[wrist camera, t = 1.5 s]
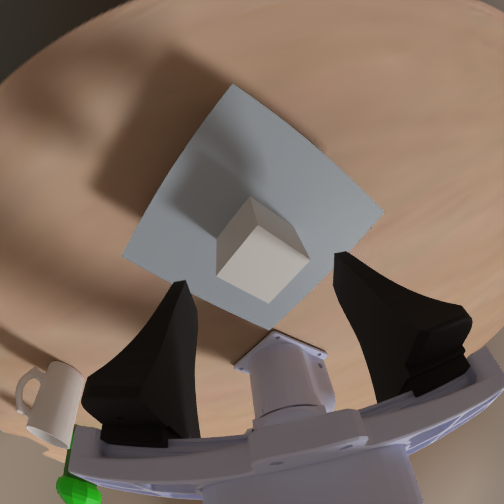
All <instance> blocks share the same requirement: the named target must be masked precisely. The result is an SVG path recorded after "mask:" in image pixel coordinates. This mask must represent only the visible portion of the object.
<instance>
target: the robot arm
mask: <svg viewBox="0 0 504 504" xmlns="http://www.w3.org/2000/svg"><path fill="white" fill-rule="evenodd" d="M333 287H334V290H335V293H336V295H337V298H338V301H339V303H340V305H341V307H342V309H343V311H344V313H345V315H346V317H347V319H348V321H349V322H350V324H351V326H352V328H353V330H354V332H355V334H356V336H357V338H358V341H359V343H360V346H361V348H362V351H363V354H364V357H365V360H366V363H367V366H368V369H369V373H370V376H371V380H372V383H373V387H374V391H375V396H376V400H377V404H375V405H372V406H369V407H366V408H363V409H359V410H354V409H344V410H339V411H334V412H333V410H334V407H335V393H334V390H333V387H332V384H331V381H330V378H329V375H328V372H327V369H326V366H325V363H324V359H325V358H327V356H328V354H327V352H324V351H322V350H319V349H317V348H314V347H312V346H310V345H307V344H305V343H303V342H300V341H298V340H295V339H293V338H291V337H288V336H286V335H284V334H282V333H279V332H277V331H273V332H271V333H270V334H269V335H268V336H266V337H265V338H264V339H263V340H262V341H261V342H260V343H259V344H258V345H256V346H255V347H254V348H253V349H252V350H251V351H250V352H249V353H247V354H246V355H245V356H244V357H243V358H242V359H240V360H239V361H238V362H237V363H236V364H235V365H234V369H235V370H238V371H241V372H244V373H247V374H250V381H251V389H252V397H253V405H254V413H255V419H254V420H252V421H253V428H251V429H247V431H246V433H245V434H244V435H235V436H225V437H212V438H201V436H200V430H199V423H198V414H197V405H196V392H195V357H196V345H197V333H198V319H197V309H196V306H195V304H194V301H193V298H192V295H191V293H190V290H189V287H188V284H187V282H186V280H182V281H176V282H174V283H173V284H172V286H171V287H170V289H169V290H168V292H167V294H166V295H165V297H164V298H163V300H162V302H161V303H160V305H159V306H158V308H157V309H156V311H155V312H154V314H153V315H152V317H151V318H150V319H149V321H148V322H147V324H146V325H145V326H144V327H143V329H142V330H141V331H140V332H139V334H138V335H137V336H136V337H135V338H134V339H133V340H132V341H131V342H130V343H129V344H128V345H127V346H126V347H125V348H124V349H123V350H122V351H121V352H120V353H119V354H118V355H117V356H116V357H114V358H113V359H112V360H111V361H110V362H108V363H107V364H106V365H105V366H103V367H102V368H100V369H99V370H97V371H96V372H95V373H93V374H92V375H90V376H89V377H87V381H86V384H85V388H84V392H83V395H82V399H81V404H82V406H83V408H84V409H85V410H86V411H87V412H88V413H89V414H90V415H92V416H93V417H94V418H95V419H97V420H98V421H99V422H100V423H102V424H103V425H102V430H100V429H97V428H93V427H86V426H79V425H77V426H76V428H75V432H74V438H73V443H72V448H71V454H70V461H69V467H68V471H69V472H70V473H72V474H74V475H76V476H78V477H80V478H83V479H85V480H87V481H89V482H92V483H94V484H96V485H99V486H102V487H107V488H111V489H117V490H122V491H127V492H133V493H139V494H145V495H153V496H160V497H170V498H180V499H196V500H203V504H424V502H423V498H422V495H421V492H420V489H419V486H418V483H417V480H416V477H415V474H414V471H413V468H412V466H411V463H410V460H409V457H408V455H410V454H412V453H414V452H416V451H418V450H420V449H422V448H424V447H426V446H427V445H429V444H431V443H433V442H435V441H436V440H438V439H440V438H441V437H443V436H445V435H446V434H448V433H450V432H451V431H453V430H455V429H456V428H458V427H459V426H461V425H462V424H464V423H466V422H467V421H468V420H470V419H471V418H473V417H474V416H476V415H477V414H479V413H480V412H482V411H483V410H485V409H486V408H487V407H488V406H489V405H490V404H491V403H492V402H493V401H494V400H495V399H496V398H497V397H498V396H499V395H500V394H501V393H502V391H503V390H504V373H503V371H502V369H501V368H500V366H499V365H498V363H497V362H496V360H495V359H494V357H493V355H492V354H491V352H490V351H489V349H488V348H487V347H486V346H484V347H483V348H481V349H479V350H478V351H476V352H474V353H472V354H471V355H470V356H468V357H467V358H466V357H465V356H464V353H465V349H464V347H463V346H462V344H463V343H464V341H465V339H466V337H467V336H468V334H469V332H470V330H471V327H472V322H473V321H472V318H471V317H470V316H469V314H468V313H467V312H466V310H465V309H464V308H463V307H462V306H461V305H456V304H451V303H446V302H442V301H439V300H435V299H432V298H429V297H426V296H423V295H421V294H418V293H416V292H413V291H411V290H409V289H407V288H405V287H403V286H400V285H398V284H396V283H395V282H393V281H391V280H389V279H388V278H386V277H384V276H383V275H381V274H379V273H378V272H376V271H375V270H373V269H372V268H370V267H369V266H367V265H366V264H364V263H363V262H361V261H360V260H358V259H357V258H356V257H354V256H353V255H351V254H350V253H348V252H347V251H343V252H338V253H334V275H333ZM277 336H278V337H277Z"/></svg>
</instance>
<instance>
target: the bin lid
mask: <svg viewBox="0 0 504 504" xmlns="http://www.w3.org/2000/svg"><path fill="white" fill-rule="evenodd" d="M383 213H384V211H383V210H382V209H381V208H380V207H379V206H378V205H377V204H376V203H375V202H374V201H373V200H372V199H371V198H370V197H369V196H368V195H367V194H366V193H365V192H364V191H363V190H362V189H361V188H360V187H359V186H358V185H357V184H356V183H355V182H354V181H353V180H352V179H351V178H350V177H349V176H348V175H347V174H346V173H345V172H343V171H342V170H341V169H340V168H339V167H338V166H337V165H336V164H335V163H334V162H333V161H331V160H330V159H329V158H328V157H327V156H326V155H325V154H324V153H322V152H321V151H320V150H319V149H318V148H317V147H315V146H314V145H313V144H312V143H311V142H310V141H308V140H307V139H306V138H305V137H304V136H302V135H301V134H300V133H299V132H298V131H296V130H295V129H294V128H293V127H291V126H290V125H289V124H288V123H286V122H285V121H284V120H282V119H281V118H280V117H279V116H277V115H276V114H275V113H273V112H272V111H271V110H269V109H268V108H267V107H265V106H264V105H263V104H261V103H260V102H258V101H257V100H256V99H254V98H253V97H251V96H250V95H249V94H247V93H246V92H244V91H243V90H241V89H240V88H238V87H237V86H235V85H234V84H232V85H231V86H230V88H229V89H228V90H227V91H226V93H225V94H224V95H223V96H222V98H221V99H220V100H219V101H218V103H217V104H216V105H215V107H214V108H213V109H212V111H211V112H210V113H209V115H208V116H207V117H206V119H205V120H204V122H203V123H202V124H201V126H200V127H199V128H198V130H197V131H196V133H195V134H194V136H193V137H192V138H191V140H190V141H189V143H188V144H187V146H186V147H185V149H184V150H183V152H182V153H181V155H180V156H179V158H178V159H177V161H176V162H175V164H174V165H173V167H172V168H171V170H170V171H169V173H168V175H167V176H166V178H165V179H164V181H163V183H162V184H161V186H160V188H159V189H158V191H157V193H156V194H155V196H154V198H153V199H152V201H151V203H150V204H149V206H148V208H147V210H146V211H145V213H144V215H143V217H142V218H141V220H140V222H139V224H138V226H137V227H136V229H135V231H134V233H133V235H132V237H131V239H130V241H129V242H128V244H127V246H126V248H125V250H124V252H123V254H122V257H124V258H125V259H127V260H129V261H131V262H132V263H134V264H136V265H138V266H140V267H141V268H143V269H145V270H147V271H149V272H151V273H152V274H154V275H156V276H158V277H160V278H162V279H164V280H166V281H168V282H169V283H171V284H173V283H174V282H176V281H182V280H186V282H187V284H188V287H189V290H190V293H191V294H193V295H195V296H197V297H199V298H201V299H203V300H205V301H207V302H209V303H211V304H213V305H215V306H217V307H219V308H221V309H223V310H226V311H228V312H230V313H232V314H234V315H236V316H238V317H240V318H243V319H245V320H247V321H249V322H251V323H253V324H256V325H258V326H260V327H262V328H265V329H267V330H270V329H271V328H273V327H274V326H275V325H276V324H277V323H278V322H279V321H280V320H281V319H282V318H283V317H284V316H285V315H286V314H287V313H288V312H290V311H291V310H292V309H293V308H294V307H295V306H296V305H297V304H298V303H299V302H300V301H301V300H302V299H303V298H304V297H305V296H306V295H307V294H308V293H309V292H310V291H311V290H312V289H313V288H314V287H315V286H316V285H317V284H318V283H319V282H320V281H321V280H322V279H323V278H324V277H325V276H326V275H327V274H328V273H329V272H330V271H331V270H332V269H333V268H334V253H338V252H343V251H347V252H349V251H350V250H351V249H352V248H353V247H354V246H355V245H356V243H357V242H358V241H359V240H360V239H361V238H362V237H363V236H364V235H365V234H366V233H367V231H368V230H369V229H370V228H371V227H372V226H373V225H374V224H375V223H376V221H377V220H378V219H379V218H380V217H381V216H382V215H383Z"/></svg>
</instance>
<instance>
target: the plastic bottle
mask: <svg viewBox="0 0 504 504" xmlns="http://www.w3.org/2000/svg"><path fill="white" fill-rule="evenodd" d="M74 432H75V431H74ZM74 432H73V433H72V439H71V443H70V448H69V449H67V456H66V461H65V467H64V474H63V476H61V477H59V478H58V480H57V483H56V489H57V493H58V494H59V495H60V497H61V498H62V499H63V500H64V502H65V503H66V504H100V503H101V493H100V491H99V490H98V489H97V485H96V484H94V483H92V482H89V481H87V480H85V479H83V478H80V477H78V476H76V475H74V474H72V473H70V472H69V471H68V467H69V461H70V454H71V448H72V443H73V438H74Z"/></svg>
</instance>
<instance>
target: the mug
mask: <svg viewBox="0 0 504 504" xmlns="http://www.w3.org/2000/svg"><path fill="white" fill-rule="evenodd" d="M33 378H35V379H37V380H38V381H39V382H40V383H41V386H40V388H39V391H38V394H37V396H36V399H35V402H34V405H33V407H32V409H30V408H28V407H27V406H26V405H25V404H24V402H23V398H22V392H23V388H24V386H25V384H26V383H27V382H28V381H29V380H30V379H33ZM83 384H84V378H83V376H82V375H81V374H80V373H79V372H78V371H77V370H76V369H75V368H73V367H72V366H70V365H68V364H66V363H63V362H60V361H53V362H51V363H50V364H49V367H48V369H47V371H46V373H43V372H41V371H40V370H39V369H38V368H36V367H34V368H32V369H31V370H30V371H28V372H27V373H26V374H25V375H24V376H23V377H22V378H21V379H20V380H19V382H18V384H17V387H16V392H15V399H16V411H17V412H19V413H20V414H22V415H24V414H26V415H27V416H28V418H29V419H28V423H27V426H26V428H27V429H28V430H29V431H30V432H31V433H32V434H33V435H35V436H36V437H38V438H40V439H41V440H43V441H45V442H47V443H49V444H52V445H54V446H57V447H60V448H64V449H69V448H70V443H71V439H72V433H73V428H74V423H75V418H76V414H77V409H78V405H79V401H80V397H81V393H82V389H83Z"/></svg>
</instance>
